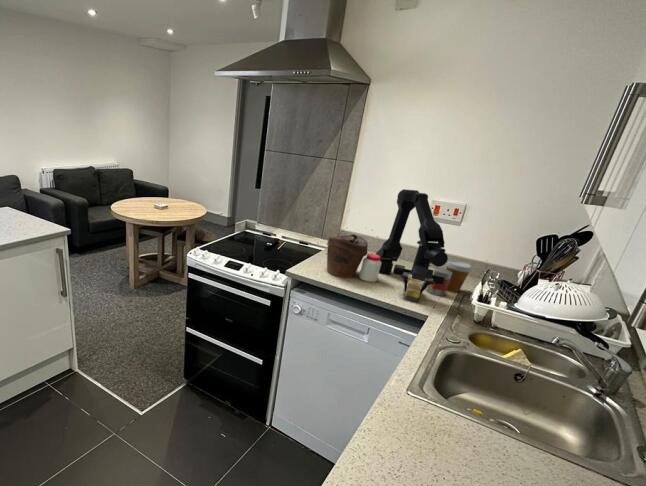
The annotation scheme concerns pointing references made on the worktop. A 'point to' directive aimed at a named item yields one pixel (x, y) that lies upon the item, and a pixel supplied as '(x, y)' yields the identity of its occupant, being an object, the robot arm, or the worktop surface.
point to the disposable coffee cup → (457, 274)
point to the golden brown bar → (413, 291)
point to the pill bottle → (370, 268)
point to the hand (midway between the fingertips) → (412, 293)
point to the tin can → (440, 288)
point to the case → (345, 254)
